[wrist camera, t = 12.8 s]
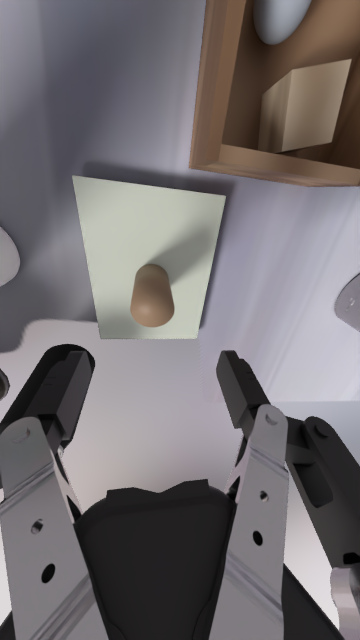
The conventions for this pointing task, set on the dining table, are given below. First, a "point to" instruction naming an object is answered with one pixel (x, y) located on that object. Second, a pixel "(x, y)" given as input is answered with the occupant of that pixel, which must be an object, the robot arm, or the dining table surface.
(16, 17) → the dining table surface
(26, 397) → the beverage can
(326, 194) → the dining table surface
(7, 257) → the water bottle
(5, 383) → the lantern
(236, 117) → the box
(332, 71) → the maple cube
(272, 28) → the ball slate
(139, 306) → the lid
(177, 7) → the dining table surface
